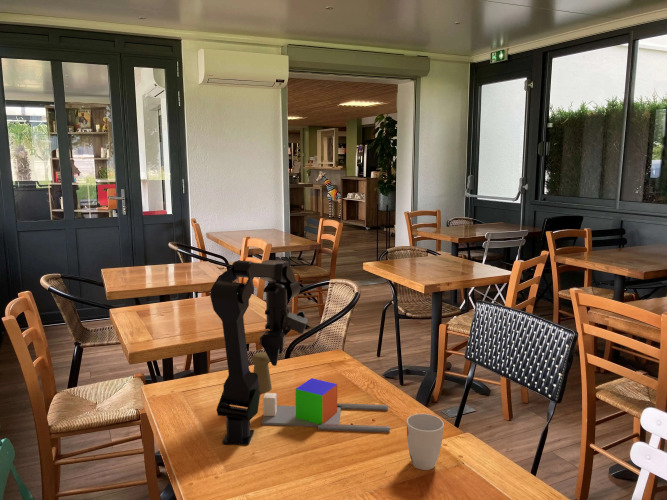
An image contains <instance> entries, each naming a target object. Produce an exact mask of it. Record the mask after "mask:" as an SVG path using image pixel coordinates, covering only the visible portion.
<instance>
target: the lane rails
mask: <svg viewBox="0 0 667 500" xmlns="http://www.w3.org/2000/svg"><path fill="white" fill-rule="evenodd" d="M337 407H339V408H341V410H357V411H359V410H360V411H363V410H364V411H389V405H388V404H369V403H365V404H364V403H363V404H362V403H341V402H340V403H338V402H337ZM317 430H318V431H341V432H366V433H369V432H370V433H391V426H389V425H370V424H369V425H366V424H362V425H361V424H343V423H342V424H341V423H339V424H318V427H317Z"/></svg>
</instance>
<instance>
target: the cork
mask: <svg viewBox="0 0 667 500" xmlns="http://www.w3.org/2000/svg"><path fill="white" fill-rule="evenodd" d="M251 361H252V364H253V370H252V371H253V373H257V375H258V383H259V386H260V387H259V391H260V394H265V393H269V392H270V391H271V390H272V381H271V375H270V368H269V365H270V363H271V361H270V359H269V357H268V355H267V354H266V352H264V351H261V352H256V353H254V354H253V355H252V358H251Z"/></svg>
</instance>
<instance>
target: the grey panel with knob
mask: <svg viewBox="0 0 667 500" xmlns="http://www.w3.org/2000/svg"><path fill="white" fill-rule="evenodd" d="M341 411H342V409H341V408H339V407H337V413H336V414H335V415H334V416H332V417H331V418H330V419H329V420H328V421H327V422H325V423H324V424H341V423H340V421H341V413H342V412H341ZM260 425H262V426H288V427H311V428H312V427H315V428H318V424H317V423H313V422H309V421H306V420H302V419H298V418H296V405H278V393H275V392H273V393H272V392H265V393H264V396H263V417H262V419H261V421H260Z"/></svg>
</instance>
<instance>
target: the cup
mask: <svg viewBox="0 0 667 500" xmlns="http://www.w3.org/2000/svg"><path fill="white" fill-rule="evenodd" d="M444 426H445V424H444V421H443V420H442V419H441V418H440V417H438V416H436V415H433V414H430V413H429V414H428V413H415V414H412V415H410V416H408V417H407V418H406V438H407V439H406V440H407V446H408V447H407V448H408V453H409V454H408V455H409V456H410V460H411V463H412V466H413V467H414V468H416V469H418V470H422V471H430V470H432V469H434V468H435V466H436V464H437V461H438V458H439V455H440V452H441V447H442V444H443V435H444Z"/></svg>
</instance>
